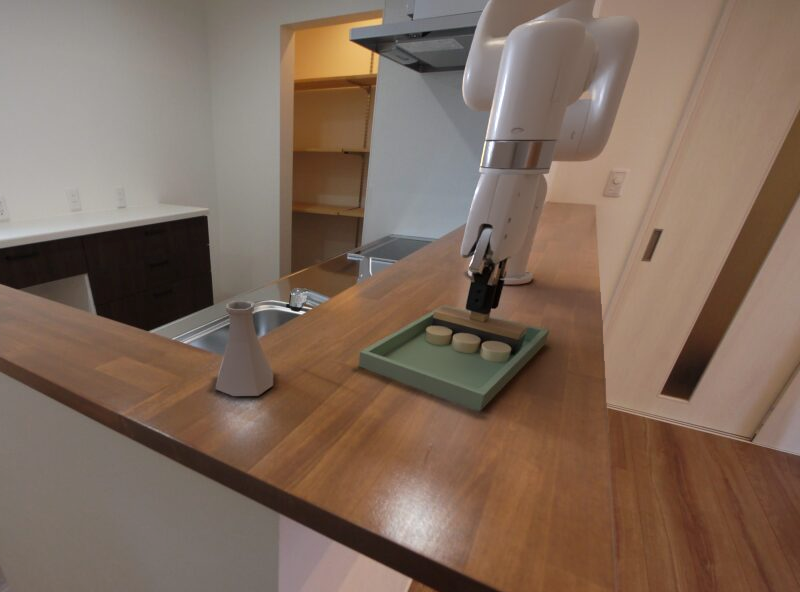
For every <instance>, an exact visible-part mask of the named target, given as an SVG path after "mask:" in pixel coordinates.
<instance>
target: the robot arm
mask: <svg viewBox="0 0 800 592" xmlns="http://www.w3.org/2000/svg"><path fill="white" fill-rule="evenodd" d="M596 2H597V0H488V1H487V3H486V5H485V6H484V8H483V9H482V12H481V14H480V16H479V19H478V21H477V24H476V28H475V30H474V34H473V38H472V42H471V44H470V49H469V52H468V56H467V58H466V63H465V67H464V72H463V78H462V89H461V90H462V97H463V101H464V103H465V105H466V106H467V108H469V109H471V110H472V111H476V112H489V113H490V114H489V118H488V124H487V129H486V134H485V139H484V144H483V150H482V154H481V158H480V159H481V160H480V164H479V170H478V172H479V173H481V174H480V176H479V179H478V182H477V185H476V188H475V190H474V195H473V198H472V201H471V205H470V208H469V213H468V216H467V220H466V223H465V224H466V225H465V229H464V233H463V238H462V242H461V246H460V251H459V254H460V256H461V257H462V258H463V259H468V258H470V257H471V261H470V264H469V267H468V270H467V275H468V276H469V277H470V284H469V289H468V294H467V298H466V303H465V310H466V311H473V312H477V313H482V314H489V313H490V314H491V312H492V310H496V309H497V308H498V307H499V306H500V305H499V304H500V302H501V301H500V300H501V297H502V292H503V289H504V285H523V284H528V283H530V282H531V281H532V279H533V276H534V275H533V273H532V272H531V271H529V270H527V267H528V263H529V259H530V257H531V252H532V248H533V246H534V241H535V238H536V234H537V230H538V227H539V223H540V220H541V216H542V212H543V208H544V204H545V201H546V197H547V194H548V181H547V179H546V176H545V175H547V174H549V173H550V172H551V171H550V170H551V167H552V163H553V162H568V163H569V162H570V163H573V162H577V163H578V162H590V161H592V160H594V159H596V158H598V157H599V156H600V155H601V154H602V153H603V151H604V150H605V147H606V146H607V144H608V142H609V139H610V136H611V133H612V130H613V127H614V124H615V121H616V118H617V114H618V111H619V108H620V105H621V102H622V98H623V96H624V92H625V89H626V86H627V82H628V79H629V76H630V73H631V70H632V68H633V67H632V66H633V64H634V59H635V56H636V53H637V49H638V44H639V38H640V25H639V23H638V20H637V19H636V18H634V17H632V16H629V15H611V16H604V17H603V16H602V17H594V16H593V15H594V14H593V13H594V8H595V4H596ZM586 92H589V94H590V96H591V98H582V99H581V97H582V96H583V94H584V93H586ZM490 267H491V270H490ZM498 268H501V271H500V275H499V279H498V283H497V285H495V284H494V283H495V280H496V275H497V271H498ZM493 299H494V300H493ZM492 303H493V304H492ZM491 307H492V308H491ZM490 311H491V312H490Z"/></svg>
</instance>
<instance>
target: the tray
mask: <svg viewBox="0 0 800 592" xmlns="http://www.w3.org/2000/svg"><path fill="white" fill-rule="evenodd" d="M443 306H444V307H448V308H453V309H457V310H461V311H465V312H469V313H471V311H469V310H467V309H463V308H458V307H453V306H449V305H445V304H443V305H441V306H440V307H437V308H435V309H434V310H432V311H430V312H429V313H427V314H425V315H423V316H422V317H420V318H418V319H416V320H414V321H413V322H410V323H409V324H407V325H406V326H403V327H402V328H400V329H397V331H394V332H393V333H391V334H389V335H387V336H385V337H384V338H382V339H380V340H379V341H377V342H375V343H373V344H371V345H369V346H368V347H366V348H364V349H362V350H360V351H359V359H358V360H359V361H358V367H360V368H363V369H365V370H367V371H371V372H374V373H376V374H378V375H381V376H384V377H386V378H389V379H392V380H394V381H398V382H400V383H403V384H405V385H408V386H410V387H413V388H416V389H418V390H422V391H425V392H427V393H429V394H432V395H434V396H437V397H440V398H443V399H445V400H448V401H451V402H453V403H456V404H458V405H462V406H465V407H467V408H469V409H472V410H474V411H477V412H481V411H482V410H483V409H484V408H485V407H486V406H487V405H488V404H489V402H491V400H493V398H494V397H495V396H497V394H498V393H499V392H500V391H501V390H502V389H503V388H504V387H505V386H506V385H507V384H508V383H509V382H510V381H511V380H512V379H513V378H514V377H515V376H516V375H517V374H518V372H519V371H520V370H521V369H522V368H523V367H524V366H526V364H527V363H528V362H529V361H530V360H531V359H532V358H533V357H534V356H535V355H536V354H537V353H538V351H540V350H541V348H542V347H544V346H545V344H546V342H547V340H548V337H549V333H550V330H549V329H546V328H542V327H537V326H533V325H529V324H524V323H520V322H516V321H513V320H508V319H504V318H499V317H495V316H491V315H490V316H489V317H490V318H494V319H498V320H503V321H507V322H511V323H515V324H519V325H523V326H527V327H528V329H527V332H526V335H525V339H524V342H523V346H522V347H521V348H520V349H519V350H518V351H517V352H516V353H515V354H514V353H510V357H509V359H508V361H506V362H492V361H488V360H485V359H483V358H482V357H481V356H480V350H481V346H482V344H480V346H479V350H478V351H477V352H475V353H462V352H459V351H456V350H454V349H453V348H452V347H451V343H452V338H453V336H452V337H451V342H450V343H449V344H446V345H436V344H431V343H429V342H427V341H426V340H425V332H426V328H427V327H429V326H432V322H433V316H434V311H436V310H438V309H440V308H441V307H443Z"/></svg>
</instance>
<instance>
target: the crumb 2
mask: <svg viewBox="0 0 800 592" xmlns="http://www.w3.org/2000/svg"><path fill="white" fill-rule="evenodd" d="M480 342H481V339H480V338H479V337H478V336H476V335H473V334H469V333H457V334H454V335H453V338H452V343H451V347H452V348H453V349H454V350H456V351H459V352H462V353H475V352H477V351H478V350H479V346H480Z"/></svg>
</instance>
